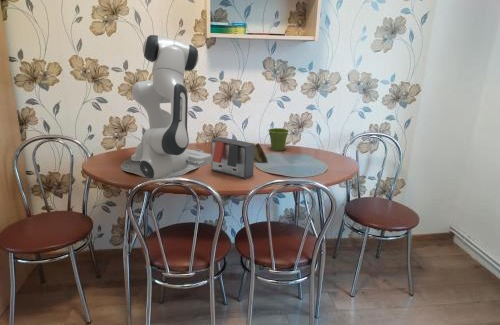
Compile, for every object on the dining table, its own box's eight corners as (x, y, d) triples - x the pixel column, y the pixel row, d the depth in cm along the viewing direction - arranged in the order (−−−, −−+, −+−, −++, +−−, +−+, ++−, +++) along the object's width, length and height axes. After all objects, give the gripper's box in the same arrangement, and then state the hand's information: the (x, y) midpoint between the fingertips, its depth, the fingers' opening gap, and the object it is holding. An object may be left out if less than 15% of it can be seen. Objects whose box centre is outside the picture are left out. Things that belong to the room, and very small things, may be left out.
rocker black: (229, 164, 157) (232, 144, 156) (237, 166, 155) (239, 146, 154) (227, 165, 156) (229, 144, 154) (234, 167, 154) (236, 146, 152)
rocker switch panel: (220, 167, 171) (220, 136, 167) (253, 175, 161) (254, 143, 157) (210, 171, 166) (210, 139, 161) (244, 179, 156) (245, 147, 151)
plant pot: (267, 146, 211) (268, 127, 208) (287, 147, 210) (289, 128, 207) (266, 151, 200) (267, 132, 196) (287, 152, 199) (289, 133, 195)
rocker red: (215, 161, 161) (218, 141, 160) (222, 163, 159) (225, 143, 158) (212, 161, 159) (215, 141, 159) (219, 162, 157) (222, 142, 157)
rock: (246, 152, 188) (246, 155, 179) (256, 140, 187) (257, 142, 178) (262, 165, 190) (263, 168, 180) (272, 152, 189) (274, 155, 179)
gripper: (198, 156, 131) (221, 148, 142) (159, 147, 142) (183, 140, 153) (198, 172, 133) (221, 163, 144) (160, 162, 144) (184, 154, 155)
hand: (201, 151), depth 149 cm, fingers closed
